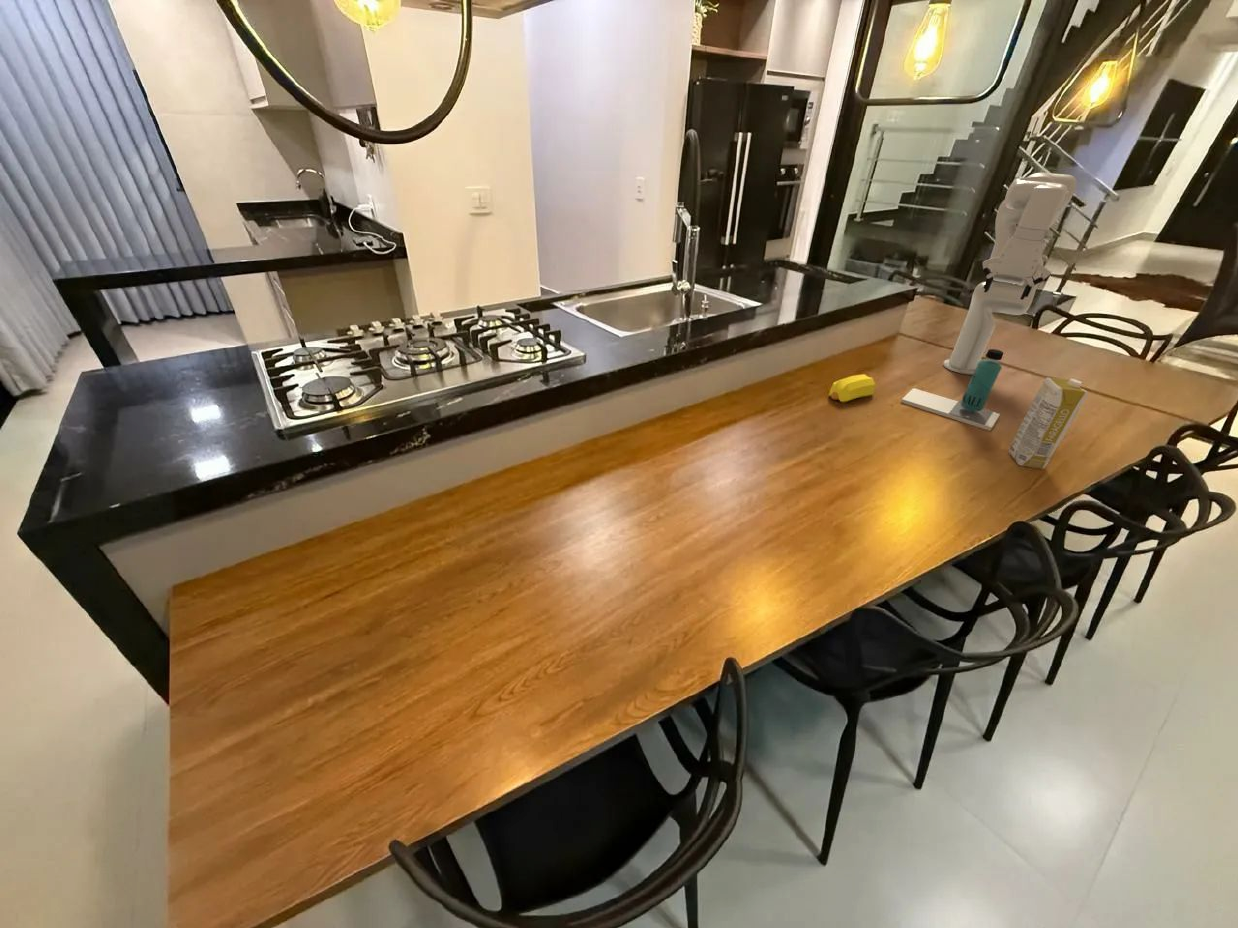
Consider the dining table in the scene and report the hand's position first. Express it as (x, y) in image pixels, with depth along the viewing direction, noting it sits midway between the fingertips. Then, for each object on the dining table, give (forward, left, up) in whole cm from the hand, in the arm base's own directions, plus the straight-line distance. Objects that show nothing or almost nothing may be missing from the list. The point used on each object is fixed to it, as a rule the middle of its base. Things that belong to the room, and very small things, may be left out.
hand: (1003, 295), depth 162 cm
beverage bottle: (+14, +5, -33) cm, 36 cm away
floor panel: (+14, 0, -34) cm, 37 cm away
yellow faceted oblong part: (+27, -27, -34) cm, 51 cm away
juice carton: (+32, +24, -34) cm, 52 cm away
